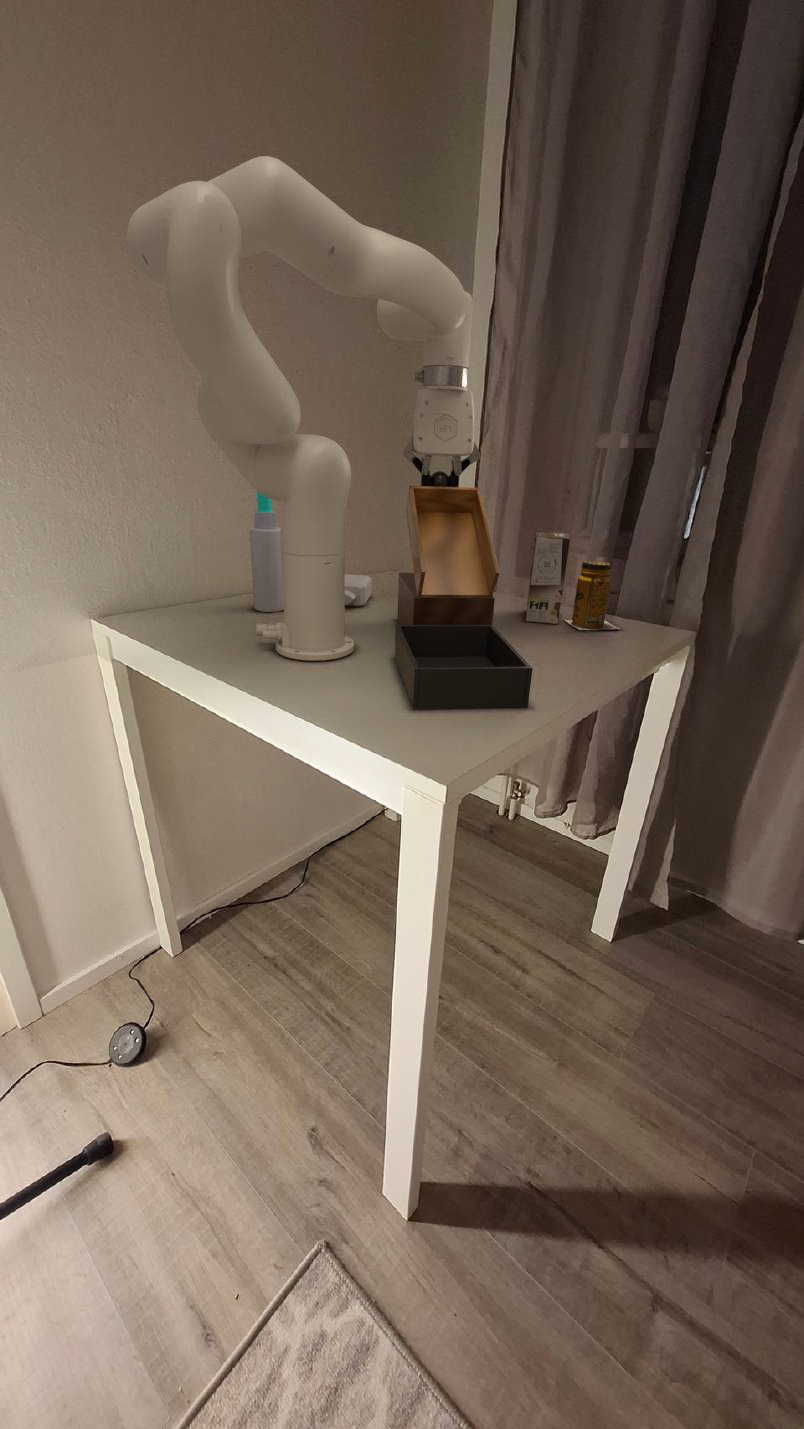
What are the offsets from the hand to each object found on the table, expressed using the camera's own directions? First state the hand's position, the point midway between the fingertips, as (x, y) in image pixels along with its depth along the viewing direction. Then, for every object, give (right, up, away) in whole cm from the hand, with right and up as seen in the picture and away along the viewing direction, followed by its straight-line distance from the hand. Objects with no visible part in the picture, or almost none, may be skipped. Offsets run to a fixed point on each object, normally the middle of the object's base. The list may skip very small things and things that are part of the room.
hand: (439, 498), depth 108 cm
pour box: (+1, -9, -4) cm, 10 cm away
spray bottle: (-33, -17, +14) cm, 40 cm away
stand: (0, -24, +1) cm, 24 cm away
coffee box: (+22, -19, +15) cm, 32 cm away
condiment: (+30, -21, +11) cm, 38 cm away
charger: (-19, -15, +19) cm, 31 cm away
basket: (+1, -33, -20) cm, 39 cm away
